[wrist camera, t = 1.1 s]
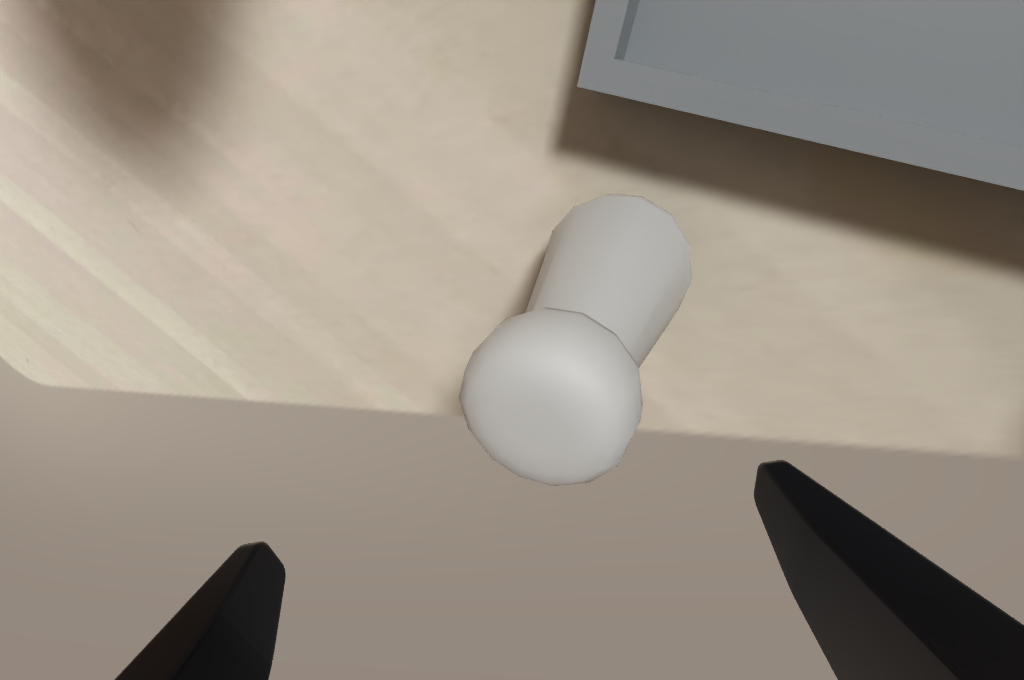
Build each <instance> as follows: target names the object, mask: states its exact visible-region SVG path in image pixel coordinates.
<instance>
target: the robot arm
mask: <svg viewBox="0 0 1024 680" xmlns="http://www.w3.org/2000/svg"><path fill="white" fill-rule="evenodd" d="M754 499H755V503H756V506H757V509H758V511H759V514H760V516H761V518H762V521H763V524H764V526H765V529H766V531H767V533H768V536H769V538H770V541H771V543H772V546H773V548H774V551H775V553H776V555H777V558H778V561H779V563H780V566H781V568H782V570H783V573H784V575H785V577H786V580H787V582H788V585H789V587H790V589H791V592H792V594H793V596H794V598H795V600H796V602H797V603H798V606H799V608H800V609H801V611H802V613H803V615H804V617H805V619H806V621H807V623H808V624H809V626H810V628H811V630H812V632H813V634H814V636H815V638H816V640H817V641H818V643H819V645H820V647H821V649H822V651H823V653H824V655H825V656H826V658H827V660H828V662H829V664H830V666H831V668H832V669H833V671H834V673H835V675H836V677H837V679H838V680H1024V625H1023V624H1021V623H1020V622H1018V621H1017V620H1015V619H1014V618H1012V617H1011V616H1010V615H1008V614H1007V613H1005V612H1004V611H1002V610H1001V609H1000V608H998V607H997V606H995V605H994V604H992V603H991V602H989V601H988V600H987V599H985V598H984V597H982V596H981V595H979V594H978V593H976V592H975V591H973V590H972V589H971V588H969V587H968V586H966V585H965V584H963V583H962V582H961V581H959V580H958V579H956V578H955V577H953V576H952V575H950V574H949V573H947V572H946V571H945V570H943V569H942V568H940V567H939V566H937V565H936V564H935V563H933V562H932V561H930V560H929V559H927V558H926V557H924V556H923V555H922V554H920V553H919V552H917V551H916V550H914V549H913V548H911V547H910V546H908V545H907V544H906V543H904V542H903V541H901V540H900V539H898V538H897V537H895V536H894V535H893V534H891V533H890V532H888V531H887V530H885V529H884V528H882V527H881V526H880V525H878V524H877V523H875V522H874V521H872V520H871V519H869V518H868V517H866V516H865V515H864V514H862V513H861V512H859V511H858V510H856V509H855V508H854V507H852V506H851V505H849V504H848V503H846V502H845V501H843V500H842V499H841V498H839V497H838V496H836V495H835V494H833V493H832V492H830V491H829V490H827V489H826V488H825V487H823V486H822V485H820V484H819V483H817V482H816V481H815V480H813V479H812V478H810V477H809V476H807V475H806V474H804V473H803V472H802V471H800V470H799V469H797V468H796V467H794V466H792V465H791V464H790V463H788V462H786V461H784V460H776V461H770V462H763V463H761V464H760V465H759V466H758V469H757V476H756V482H755V489H754ZM284 584H285V568H284V566H283V564H282V562H281V561H280V560H279V558H278V557H277V556H276V555H275V553H274V552H273V551H272V549H271V548H270V547H269V545H268V544H267V543H265V542H255V543H248V544H244V545H242V546H240V547H239V548H237V549H236V550H235V551H234V553H232V555H231V556H230V557H229V558H228V559H227V560H226V561H225V562H224V563H223V564H222V565H221V566H220V567H219V569H218V570H217V571H216V572H215V573H214V574H213V575H212V576H211V577H210V578H209V579H208V580H207V581H206V582H205V583H204V584H203V586H202V587H201V588H200V589H199V590H198V591H197V592H196V593H195V594H194V595H193V596H192V597H191V598H190V599H189V601H188V602H187V603H186V604H185V605H184V606H183V607H182V608H181V609H180V610H179V611H178V612H177V613H176V614H175V616H174V617H173V618H172V619H171V620H170V621H169V622H168V623H167V624H166V625H165V626H164V627H163V628H162V629H161V630H160V632H159V633H158V634H157V635H156V636H155V637H154V638H153V639H152V640H151V641H150V642H149V643H148V644H147V645H146V647H145V648H144V649H143V650H142V651H141V652H140V653H139V654H138V655H137V656H136V657H135V658H134V659H133V661H132V662H131V663H130V664H129V665H128V666H127V667H126V668H125V669H124V670H123V671H122V672H121V673H120V674H119V675H118V676H117V678H116V679H115V680H268V679H269V674H270V670H271V666H272V660H273V655H274V649H275V643H276V636H277V629H278V623H279V617H280V610H281V604H282V597H283V591H284Z"/></svg>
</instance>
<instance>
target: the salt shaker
mask: <svg viewBox="0 0 1024 680" xmlns="http://www.w3.org/2000/svg"><path fill="white" fill-rule="evenodd" d="M691 281H692V268H691V249H690V244H689V242H688V240H687V239H686V237H685V235H684V234H683V232H682V230H681V229H680V227H679V226H678V224H677V222H676V221H675V219H674V217H673V216H672V214H670V213H668V212H667V211H665V210H663V209H662V208H660V207H658V206H657V205H655V204H654V203H652V202H650V201H649V200H647V199H645V198H644V197H639V196H627V195H614V194H608V195H605V196H602V197H599V198H597V199H594V200H591V201H589V202H586V203H583V204H581V205H578V206H575V207H573V208H572V209H571V210H570V212H569V213H568V214H567V215H566V216H565V217H564V218H563V220H562V221H561V222H560V223H559V224H558V225H557V226H556V228H555V229H554V230H553V231H552V234H551V237H550V241H549V244H548V247H547V251H546V254H545V257H544V261H543V263H542V266H541V269H540V272H539V275H538V278H537V280H536V283H535V286H534V289H533V292H532V295H531V298H530V300H529V303H528V306H527V309H526V312H525V313H524V314H520V315H516V316H513V317H509V318H506V319H505V320H504V321H503V322H502V323H501V324H500V325H499V326H498V327H497V328H496V329H495V330H494V331H493V332H492V333H491V334H490V335H489V336H488V337H487V338H486V339H485V340H484V341H483V342H482V343H481V344H480V346H479V347H478V348H477V349H476V350H475V351H474V352H473V354H472V356H471V358H470V360H469V362H468V364H467V366H466V369H465V373H464V378H463V382H462V387H461V391H460V396H459V399H460V402H461V406H462V409H463V412H464V416H465V419H466V422H467V425H468V429H469V430H470V431H471V432H472V434H473V435H474V436H475V437H476V439H477V440H478V442H479V443H480V444H481V445H482V446H483V448H484V449H485V451H486V452H487V453H488V454H489V456H490V457H491V458H492V459H493V460H494V461H496V462H498V463H499V464H501V465H502V466H504V467H505V468H507V469H508V470H510V471H512V472H513V473H515V474H517V475H518V476H520V477H523V478H526V479H530V480H534V481H537V482H541V483H544V484H548V485H554V486H557V485H566V484H577V483H587V482H590V481H593V480H594V479H596V478H598V477H600V476H601V475H603V474H605V473H606V472H608V471H610V470H611V469H613V468H615V467H617V466H618V464H619V462H620V461H621V459H622V457H623V455H624V453H625V452H626V450H627V448H628V446H629V443H630V441H631V439H632V437H633V435H634V433H635V431H636V429H637V427H638V424H639V422H640V419H641V412H642V405H643V404H642V394H641V384H640V373H639V367H640V366H641V364H642V363H643V361H644V360H645V358H646V357H647V355H648V354H649V352H650V351H651V349H652V348H653V346H654V345H655V343H656V342H657V340H658V339H659V337H660V336H661V334H662V333H663V331H664V330H665V328H666V327H667V325H668V324H669V322H670V321H671V319H672V318H673V316H674V315H675V314H676V312H677V311H678V309H679V307H680V305H681V303H682V300H683V298H684V296H685V294H686V292H687V290H688V288H689V285H690V283H691Z"/></svg>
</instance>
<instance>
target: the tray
mask: <svg viewBox="0 0 1024 680" xmlns="http://www.w3.org/2000/svg"><path fill="white" fill-rule="evenodd" d="M577 87H580V88H585V89H589V90H593V91H598V92H602V93H606V94H611V95H615V96H619V97H623V98H628V99H632V100H636V101H641V102H645V103H649V104H653V105H658V106H662V107H666V108H671V109H675V110H679V111H684V112H688V113H692V114H696V115H701V116H705V117H709V118H714V119H718V120H722V121H726V122H731V123H735V124H739V125H744V126H748V127H752V128H757V129H761V130H765V131H769V132H774V133H778V134H782V135H787V136H791V137H795V138H799V139H804V140H808V141H812V142H817V143H821V144H825V145H830V146H834V147H838V148H842V149H847V150H851V151H855V152H860V153H864V154H868V155H872V156H877V157H881V158H885V159H890V160H894V161H898V162H903V163H907V164H911V165H915V166H920V167H924V168H928V169H933V170H937V171H941V172H945V173H950V174H954V175H958V176H963V177H967V178H971V179H976V180H980V181H984V182H988V183H993V184H997V185H1001V186H1006V187H1010V188H1014V189H1018V190H1023V191H1024V0H596V2H595V6H594V11H593V15H592V20H591V24H590V29H589V34H588V38H587V43H586V47H585V52H584V56H583V61H582V65H581V70H580V74H579V79H578V83H577Z"/></svg>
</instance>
